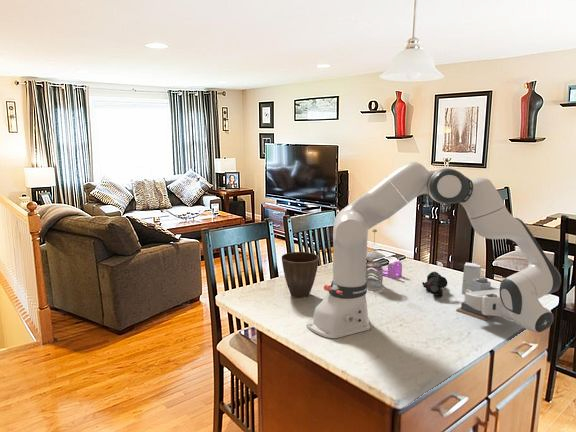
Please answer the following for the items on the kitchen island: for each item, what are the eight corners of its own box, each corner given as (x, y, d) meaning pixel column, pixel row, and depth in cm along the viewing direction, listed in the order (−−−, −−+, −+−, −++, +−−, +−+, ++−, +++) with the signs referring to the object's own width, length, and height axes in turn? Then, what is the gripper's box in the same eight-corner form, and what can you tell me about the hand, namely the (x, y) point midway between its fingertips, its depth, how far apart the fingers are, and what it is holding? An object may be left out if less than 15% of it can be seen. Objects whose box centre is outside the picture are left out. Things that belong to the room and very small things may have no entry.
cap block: (488, 311, 159) (490, 280, 157) (478, 312, 158) (480, 281, 155) (480, 306, 163) (482, 276, 161) (469, 308, 162) (472, 277, 160)
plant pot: (326, 295, 177) (326, 257, 174) (297, 304, 168) (297, 264, 165) (302, 286, 188) (302, 249, 186) (274, 294, 179) (274, 256, 176)
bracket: (401, 276, 200) (402, 261, 199) (394, 279, 197) (394, 264, 196) (378, 270, 210) (379, 256, 209) (371, 272, 207) (371, 258, 205)
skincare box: (461, 293, 178) (463, 264, 176) (463, 290, 182) (465, 262, 180) (477, 296, 175) (480, 267, 173) (479, 292, 179) (481, 264, 177)
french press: (385, 290, 182) (387, 231, 177) (357, 289, 184) (358, 231, 179) (384, 283, 192) (386, 226, 187) (357, 281, 193) (358, 226, 189)
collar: (485, 320, 152) (485, 312, 152) (456, 310, 161) (456, 302, 160) (502, 311, 160) (502, 303, 159) (473, 303, 168) (474, 295, 168)
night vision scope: (432, 289, 190) (452, 277, 186) (431, 305, 173) (453, 292, 170) (420, 275, 190) (440, 262, 187) (419, 289, 174) (440, 276, 170)
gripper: (533, 291, 149) (503, 278, 162) (481, 297, 143) (455, 284, 157) (531, 309, 150) (502, 295, 163) (480, 315, 145) (454, 300, 158)
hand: (478, 289), depth 160 cm, fingers open, 8 cm apart
